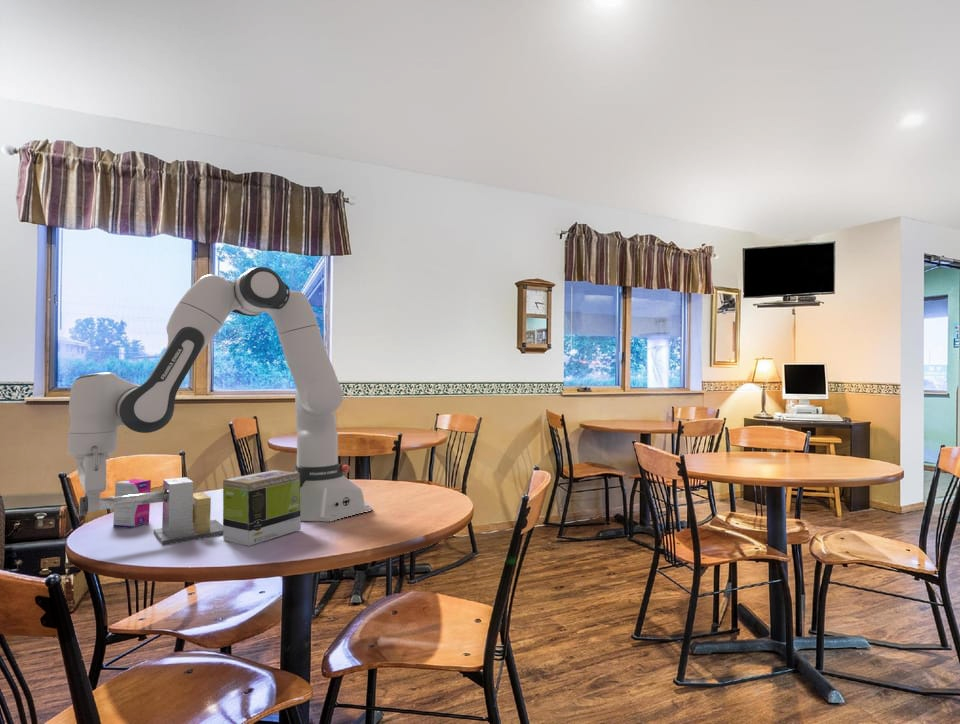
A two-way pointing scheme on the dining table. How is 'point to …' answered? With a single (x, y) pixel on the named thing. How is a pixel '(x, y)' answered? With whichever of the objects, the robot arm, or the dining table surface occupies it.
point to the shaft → (124, 501)
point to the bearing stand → (181, 514)
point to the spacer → (201, 512)
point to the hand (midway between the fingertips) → (91, 507)
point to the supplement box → (135, 513)
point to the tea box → (261, 506)
